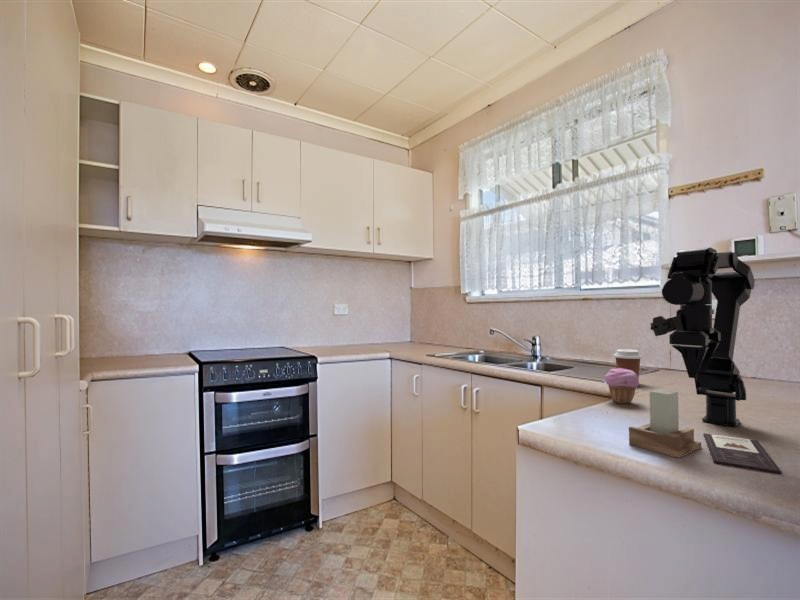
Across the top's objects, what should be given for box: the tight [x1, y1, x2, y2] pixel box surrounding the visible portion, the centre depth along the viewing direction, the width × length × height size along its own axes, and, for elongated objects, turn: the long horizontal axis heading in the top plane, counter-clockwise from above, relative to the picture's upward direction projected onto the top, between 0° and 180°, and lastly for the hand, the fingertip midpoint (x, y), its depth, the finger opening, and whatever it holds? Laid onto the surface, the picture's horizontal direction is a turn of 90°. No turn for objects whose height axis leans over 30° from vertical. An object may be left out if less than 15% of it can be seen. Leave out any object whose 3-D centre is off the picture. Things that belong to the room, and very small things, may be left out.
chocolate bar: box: [702, 432, 782, 475], centre depth 77 cm, size 9×1×18 cm
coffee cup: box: [613, 348, 643, 380], centre depth 145 cm, size 9×9×12 cm
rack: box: [628, 422, 702, 459], centre depth 81 cm, size 10×9×4 cm
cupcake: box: [604, 368, 640, 405], centre depth 118 cm, size 9×9×10 cm
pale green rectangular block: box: [649, 388, 680, 435], centre depth 81 cm, size 4×4×10 cm
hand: (696, 375), depth 89 cm, fingers open, 9 cm apart
